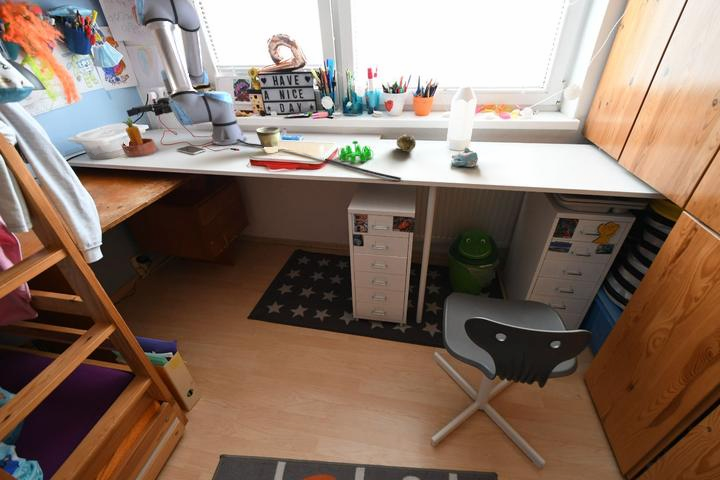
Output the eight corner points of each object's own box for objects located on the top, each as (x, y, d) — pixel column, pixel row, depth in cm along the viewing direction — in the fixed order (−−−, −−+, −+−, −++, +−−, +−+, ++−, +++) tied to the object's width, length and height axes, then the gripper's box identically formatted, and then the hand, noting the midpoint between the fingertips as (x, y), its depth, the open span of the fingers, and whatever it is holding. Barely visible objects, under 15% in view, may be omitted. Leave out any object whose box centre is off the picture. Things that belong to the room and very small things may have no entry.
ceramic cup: (280, 154, 143) (276, 132, 138) (258, 155, 143) (253, 132, 138) (286, 146, 154) (282, 124, 148) (265, 146, 154) (261, 125, 149)
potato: (415, 147, 146) (416, 129, 142) (415, 156, 135) (416, 137, 131) (396, 147, 147) (397, 129, 143) (395, 156, 136) (395, 137, 132)
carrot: (141, 153, 150) (128, 119, 142) (132, 152, 151) (118, 119, 143) (149, 149, 154) (136, 117, 146) (140, 149, 155) (127, 117, 147)
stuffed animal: (465, 143, 130) (486, 146, 119) (465, 161, 133) (486, 165, 122) (443, 148, 126) (463, 150, 116) (443, 166, 129) (463, 170, 119)
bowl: (162, 150, 154) (158, 140, 151) (134, 159, 145) (129, 148, 142) (148, 146, 160) (144, 136, 158) (120, 154, 151) (115, 143, 149)
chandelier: (376, 153, 141) (376, 137, 137) (370, 165, 128) (369, 148, 125) (342, 152, 143) (342, 136, 140) (333, 163, 131) (332, 147, 127)
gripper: (192, 111, 171) (169, 120, 153) (148, 112, 173) (120, 122, 155) (187, 96, 167) (163, 104, 149) (142, 97, 169) (113, 105, 151)
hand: (141, 113), depth 152 cm, fingers open, 13 cm apart
